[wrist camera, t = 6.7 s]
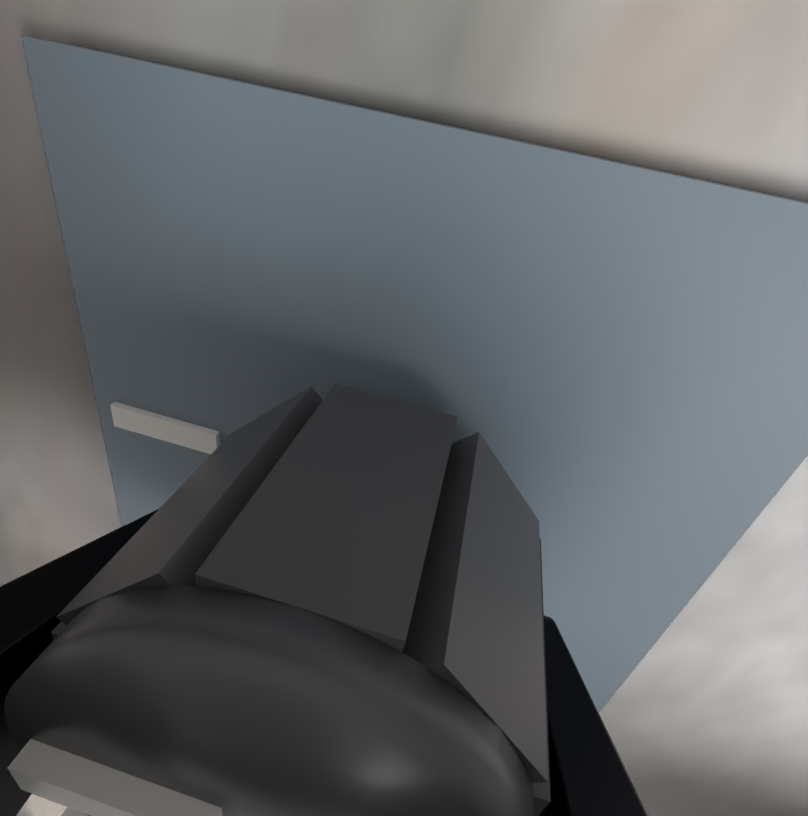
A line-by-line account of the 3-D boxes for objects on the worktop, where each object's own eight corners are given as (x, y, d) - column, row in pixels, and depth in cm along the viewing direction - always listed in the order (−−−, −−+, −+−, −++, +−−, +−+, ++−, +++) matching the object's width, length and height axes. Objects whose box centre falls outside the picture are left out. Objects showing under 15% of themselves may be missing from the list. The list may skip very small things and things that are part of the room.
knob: (583, 450, 8) (658, 878, 3) (481, 662, 11) (452, 1012, 7) (220, 352, 8) (-121, 608, 4) (228, 582, 11) (50, 857, 7)
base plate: (936, 230, 7) (1330, 331, 4) (577, 707, 14) (593, 885, 11) (62, 42, 8) (-263, -15, 5) (152, 571, 16) (49, 694, 12)
